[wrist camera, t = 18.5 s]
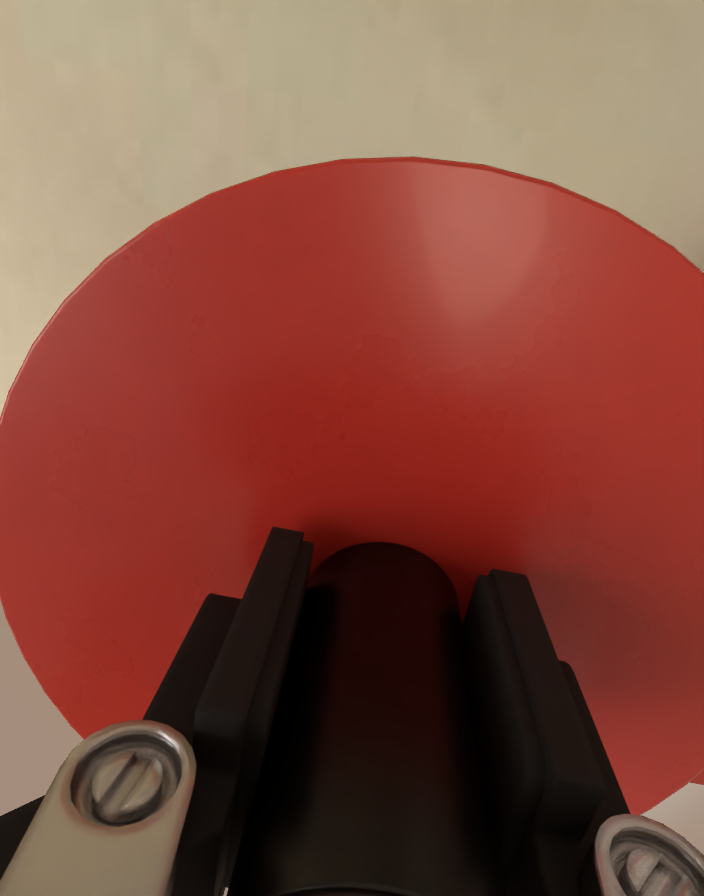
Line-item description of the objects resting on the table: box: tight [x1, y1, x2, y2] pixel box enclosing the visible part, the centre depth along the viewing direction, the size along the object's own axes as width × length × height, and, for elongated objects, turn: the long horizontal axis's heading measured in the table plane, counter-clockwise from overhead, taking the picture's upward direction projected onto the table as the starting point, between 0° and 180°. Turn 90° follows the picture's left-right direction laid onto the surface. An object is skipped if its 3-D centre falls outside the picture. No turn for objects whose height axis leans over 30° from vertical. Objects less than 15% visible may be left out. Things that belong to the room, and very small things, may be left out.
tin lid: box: [0, 157, 704, 896], centre depth 8 cm, size 15×15×7 cm
